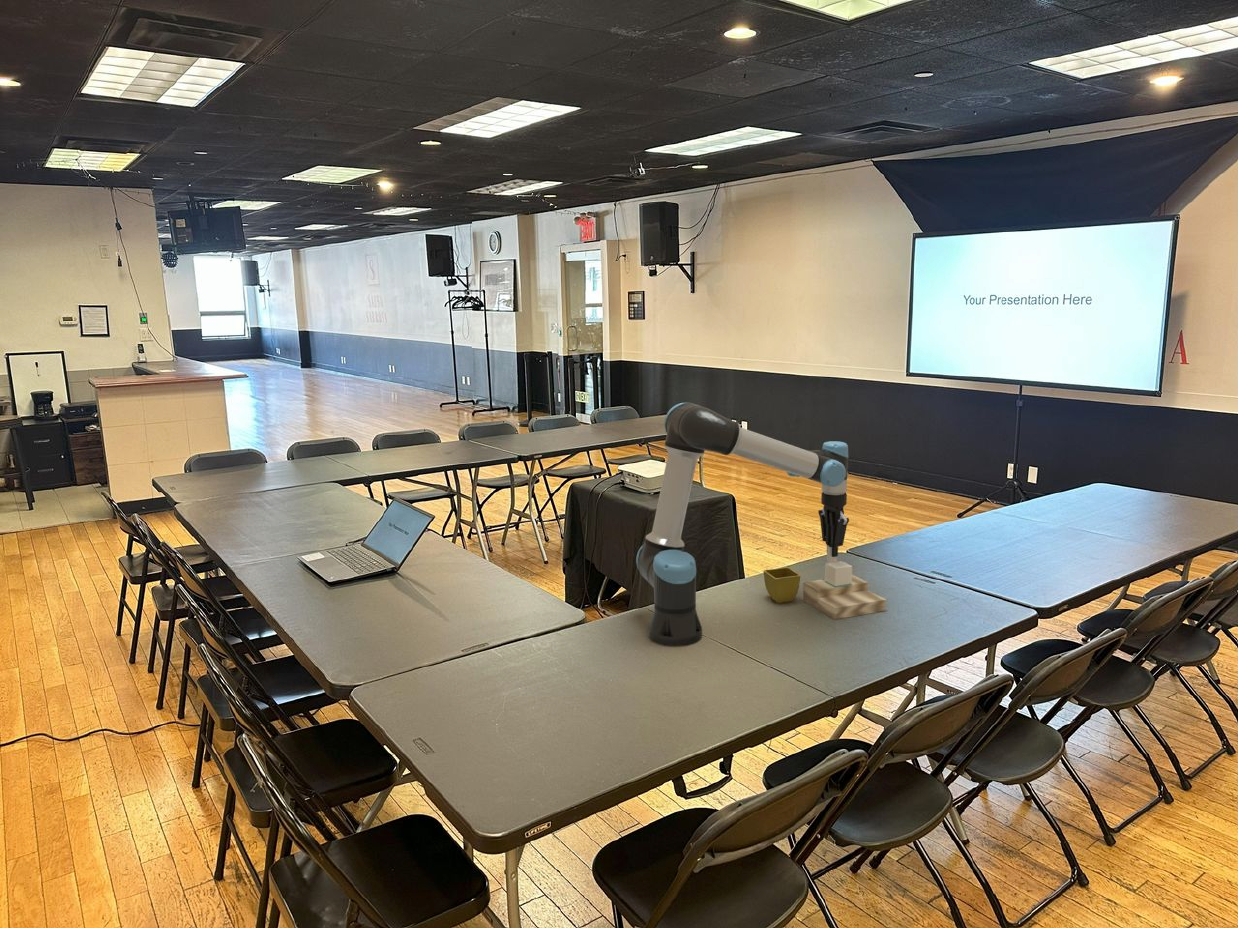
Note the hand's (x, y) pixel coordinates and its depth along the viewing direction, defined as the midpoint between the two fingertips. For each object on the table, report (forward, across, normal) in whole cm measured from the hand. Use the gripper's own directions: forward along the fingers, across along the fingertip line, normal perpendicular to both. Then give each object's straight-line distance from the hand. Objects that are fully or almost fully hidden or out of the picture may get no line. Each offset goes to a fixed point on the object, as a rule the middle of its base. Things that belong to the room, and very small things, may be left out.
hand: (831, 565), depth 249 cm
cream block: (+5, -4, 0) cm, 6 cm away
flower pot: (+11, +5, +15) cm, 19 cm away
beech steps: (+11, -7, 0) cm, 13 cm away
